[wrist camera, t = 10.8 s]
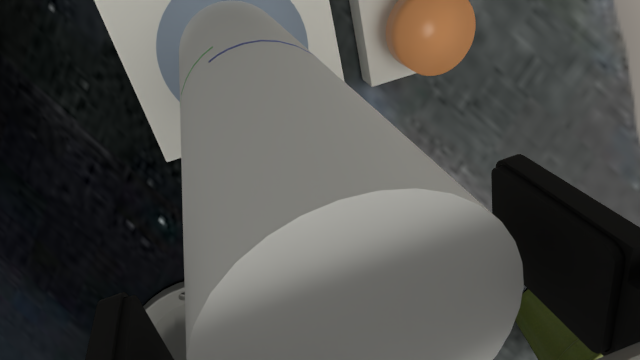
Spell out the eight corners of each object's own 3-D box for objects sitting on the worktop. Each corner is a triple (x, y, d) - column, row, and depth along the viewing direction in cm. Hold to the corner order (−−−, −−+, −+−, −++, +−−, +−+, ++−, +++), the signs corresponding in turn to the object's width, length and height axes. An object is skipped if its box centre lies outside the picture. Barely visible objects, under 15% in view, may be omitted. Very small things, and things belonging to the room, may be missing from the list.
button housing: (446, 53, 35) (460, 59, 33) (362, 79, 34) (372, 86, 32) (440, -46, 31) (455, -45, 30) (345, -20, 31) (355, -17, 29)
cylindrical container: (303, 80, 32) (540, 358, 11) (212, 125, 32) (283, 495, 11) (259, -20, 29) (494, 117, 8) (156, 30, 28) (100, 317, 7)
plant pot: (499, 274, 49) (577, 357, 39) (592, 250, 51) (687, 323, 42) (487, 350, 55) (552, 438, 45) (571, 325, 57) (650, 404, 48)
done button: (460, 55, 31) (476, 62, 30) (391, 77, 31) (403, 85, 29) (456, -25, 29) (474, -22, 27) (380, -3, 28) (393, 1, 26)
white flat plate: (347, 103, 35) (349, 105, 34) (166, 159, 33) (166, 162, 33) (313, -73, 29) (315, -73, 28) (88, -15, 27) (87, -14, 26)
